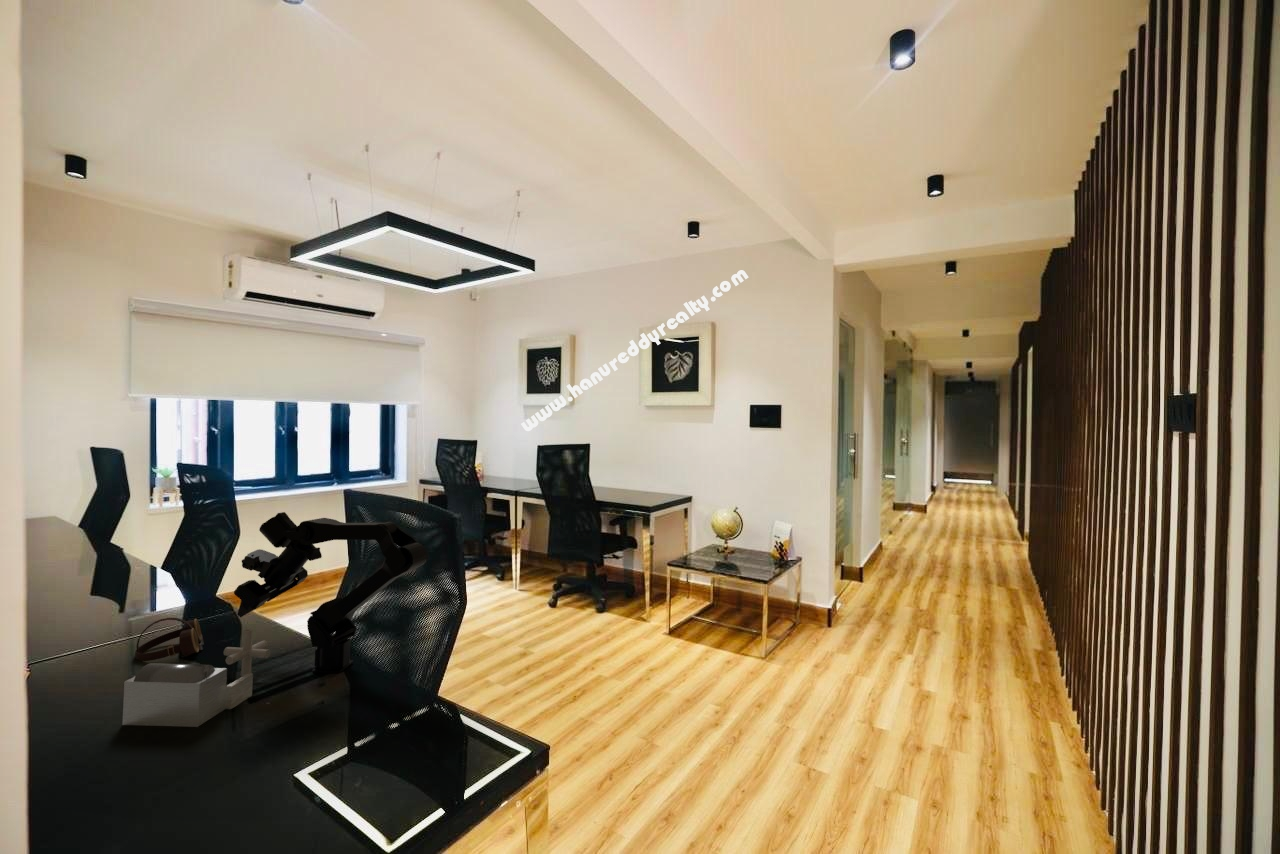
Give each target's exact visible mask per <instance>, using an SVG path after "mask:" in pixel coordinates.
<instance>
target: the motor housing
mask: <svg viewBox="0 0 1280 854" xmlns="http://www.w3.org/2000/svg"><path fill="white" fill-rule="evenodd" d="M227 676H228V668H226V667H214V666H213V665H212V664H192V663H190V664H188V663H187V664H186V663H159V662H157V663H156V662H155V663H154V662H153V663H147V664H146V665H144V666H143V667H141V668H140V670H138V672H137V673H136V674H135V675H130V676H129V677H127V680H125V681H124V683H123V684H124V687H123V703H122V704H123V706H122V708H123V709H122V724H121V725H122V726H146V727H147V726H151V727H152V726H153V727H154V726H155V727H190V728H193V727H195V728H199V726H201V725H203V724H205V723H206V722H207V721H209V720H210V719H212V718H214V717H215V716H216V715H218V714H219V713H221V712H223V711H224V710H232V709H233V708H235V707H237V706H238V705H240V704H242V703H243V702H244V701H246V700H247V699H249V698H251V697H252V696H253V682H254V673H251V674H246V675H244V676H241V677H239V678H237V679H235V680H234V681H233V682H230V683H229V684H227V680H228V677H227Z"/></svg>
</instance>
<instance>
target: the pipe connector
mask: <svg viewBox="0 0 1280 854" xmlns="http://www.w3.org/2000/svg"><path fill="white" fill-rule="evenodd" d="M253 637H254V629H253V628H249V629H248V628H247V629H244V630H243V631H242V647H234V646H227V647H225V648H224V650H223V656H226V658H225V660H224V661H225V664H227V665H233V664H234V663H236V662H239V661H241V671H240V672H241V674H240V675H241V677H242V676H244V675H246V674H252V658H256V659H258V658H259V659H268V658H269V657H270V656H271V650H270V649H266V648H267V647H268V642H267V640H261V641H259V642H256V643H255V644H253Z"/></svg>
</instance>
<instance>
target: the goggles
mask: <svg viewBox="0 0 1280 854" xmlns="http://www.w3.org/2000/svg"><path fill="white" fill-rule="evenodd" d="M198 620H199V619H197V618H194V619H191V620H184V619H181V618H178V617H165V618H161V619H158V620H156V621H154V622H152V623H151V624H149V625H148V626H146V627H145V629H144V630H143V631H142V632H141V633H140V635H139V636H138V638H137V642H136V650H135V652H134V658H135V659H136V660H137V661H140V662H149V661H150V662H151V661H155V660H161V659H164V658H168V657H169V658H171V657H174V656H176V655H177V654H180V653H181V654H182V655H183V657H185V658H187V657H189V656H191V655H193V654H195V653H199V651H202V650H203V649H204V648H203V645H204V643H205V642H204V638H203V634H202V629H201V626H200V623H199V621H198ZM163 621H177V622H182V623H184V624H185V627H183V628H178V629H176V630H173V631H170V632H167V633H165V634H161V635H160V636H157V637H155V638H153V639H150V640H148V641H147V642H145V643H143V644H142V645H140V646H139V644H140V640H141V638H142V635H144V633H145V632H146V631H147V630H148V629H149V628H150V627H152V626H153V625H155V624H158V623H159V622H163ZM176 638H179V644H177V645H173V644H172V645H169V646H167V648H164V649H160V650H156V651H153V652H152V651H151V652H147V651H149V650H151V649H152V648H153V649H154V648H155V647H157V646H160V645H161V644H163V643H166V642H168V641H172V640H175V639H176ZM199 642H200V643H199Z"/></svg>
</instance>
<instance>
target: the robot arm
mask: <svg viewBox="0 0 1280 854" xmlns="http://www.w3.org/2000/svg"><path fill="white" fill-rule="evenodd" d="M258 531H259V532H260V533H261V534H262V536H264V537H265V538H266V539H267V541H269V543H270V544H271V545H272V546H273V547H274V548H275V549H277V548H284V549H283V550H282V552H281V553H280V554H279V555H276V554H275V553H272V552H269V551H267V550H264V549H262V548H261V549H256V550H254V551H252V552H249V553H247V555H245V556H244V558H243V559H241V567H242V568H243V569H245V570H249V571H251V572H252V571H255V572H258V574H257V576H258V577H259V578H261V579H263V581H264V583H262V584H261V583H259V582H258V581H257V580H255V579H251V580H247V581H245V582H243V583H241V584H239V585H238V586H237V587H236V588H235V590H234V591H233V595H234V596H236V597H237V598H239V600H240V604H239V607H238V610H237V614H236V615H237V616H238V618H242V617H244V616H246V615H248V614H250V613H251V612H253V611H255V610H256V609H258V608H260V607H262V606H264V605H265V603H266V602H270V601H272V600H273V599H275V598H277V597H278V596H280V595H282V594H284V593H287V592H288V591H290V590H291V589H293V588H295V587H296V586H298V585H300V584H301V583H302V582H304V581H305V580H306V578H308V576H309V574H308V570H307V569H305V567H304V565H305V564H306V563H307V562H308V561H316V560H319V559H322V558H323V557H322V556H323V555H322V552H321V548H320V547H316V546H315V544H316V545H317V544H322V543H325V542H331V541H376V542H377V544H378V546H379V547H380V551H381V554H382V556H384V557H385V559H384V560H383V563H382V566H381V567H380V568H379V569H378V570H377V571H375V572H374V573H373V574H372V575H370V576H369V577H368V578H367V579H365V580H364V581H363V582H361V583H360V584H359V585H358V586H357V587H355V588H354V589H352V590H351V591H350V592H349V593H348V594H346V595H345V596H344V597H343V598H342V596H338V597H335V598H333V599H331V600H327V601H325V602H323V603H322V604H321V605H320V606H319V607H318V608H317V609H316V610H314V611H313V610H312V611H311V612H310V613H309V614H310V616H309V618H308V619H307V621H306V622H307V631H308V635H309V638H310V642H311V645H312V647H313V648H314V647H315V649H314V668H313V669H312V673H323V674H324V673H328V674H329V673H331V674H332V673H333V674H337V673H338V674H339V673H341V672H343V671H344V670H345V669H347V668H348V667H349V666H350V665H352V664H353V663H354V660H352V659H351V638H353V637H355V636H356V633H357V630H358V627H357V626H356V625H355V623H353V621H352V618H353V616H354V614H355V612H356V611H357V610H358V609H359V608H361V607H362V606H364V604H366V603H367V602H369V601H370V600H371V599H372V598H373V597H375V596H376V595H377V594H379V593H381V591H382V590H384V589H385V588H387V587H388V586H389V585H391V584H392V582H395V580H397V579H398V578H399V577H402V576H405V575H406V574H408V573H410V572H412V571H414V570H416V569H418V568H420V567H421V566H424V565H425V563H427V561H428V551H427V549H426V546H424V545H423V544H421V543H420V542H418V541H417V540H416V538H415V537H414V536H412V535H410V534H409V533H407V532H406V531H404V530H403V529H401V528H400V527H399V526H398V524H397V523H395V522H393V521H387V522H385V521H384V522H342V521H339V520H336V519H334V518H328V517H321V518H320V517H319V518H315V519H309V520H303V521H301V522H300V524H298V525H296V523H294V521H293V520H292V519H291V518H290V517H289V515H288V514H287V513H286V512H285V511H284V512H282V511H281V512H278V513H277V514H276V515H275V516H272V517H271V518H269V519H268V520H266V521H265V522H263V523H262V524H261V525H260V527H259V530H258Z"/></svg>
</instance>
